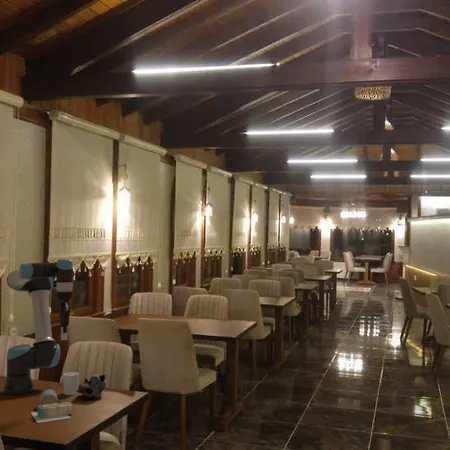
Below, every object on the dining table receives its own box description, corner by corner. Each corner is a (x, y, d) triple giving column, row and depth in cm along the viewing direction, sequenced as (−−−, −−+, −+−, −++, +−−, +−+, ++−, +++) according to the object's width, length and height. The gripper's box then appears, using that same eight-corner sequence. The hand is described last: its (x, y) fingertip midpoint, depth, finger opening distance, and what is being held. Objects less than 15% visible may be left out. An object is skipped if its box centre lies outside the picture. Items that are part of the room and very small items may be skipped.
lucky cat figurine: (80, 393, 293) (93, 367, 297) (101, 403, 291) (113, 377, 295) (71, 392, 279) (85, 365, 283) (93, 403, 277) (107, 376, 281)
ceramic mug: (41, 411, 263) (41, 394, 263) (39, 406, 271) (40, 389, 271) (65, 408, 267) (65, 392, 267) (63, 404, 275) (63, 388, 275)
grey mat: (30, 413, 259) (30, 412, 259) (62, 409, 266) (62, 408, 266) (37, 423, 245) (37, 422, 245) (70, 418, 252) (70, 417, 252)
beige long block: (69, 410, 263) (37, 414, 256) (69, 401, 263) (37, 405, 256) (72, 413, 257) (40, 418, 251) (72, 405, 258) (40, 409, 251)
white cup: (82, 392, 294) (82, 373, 294) (70, 396, 287) (70, 376, 288) (71, 390, 298) (71, 371, 299) (59, 394, 292) (59, 374, 292)
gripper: (75, 291, 274) (75, 341, 273) (69, 289, 285) (68, 336, 285) (59, 292, 270) (59, 342, 270) (53, 290, 281) (53, 338, 281)
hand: (64, 339), depth 277 cm, fingers closed
